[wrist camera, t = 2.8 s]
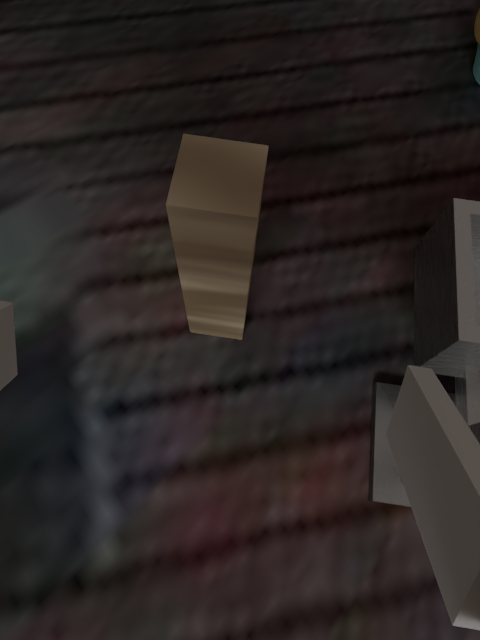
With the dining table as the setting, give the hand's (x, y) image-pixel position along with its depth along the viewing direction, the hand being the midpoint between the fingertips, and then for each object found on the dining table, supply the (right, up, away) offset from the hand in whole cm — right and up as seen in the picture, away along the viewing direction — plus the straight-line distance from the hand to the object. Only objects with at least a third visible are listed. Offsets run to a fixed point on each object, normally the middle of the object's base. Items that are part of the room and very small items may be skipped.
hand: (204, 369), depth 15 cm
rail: (0, +2, +16) cm, 16 cm away
